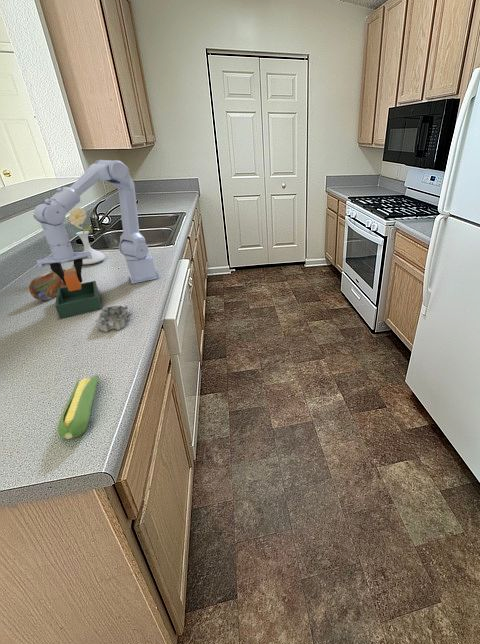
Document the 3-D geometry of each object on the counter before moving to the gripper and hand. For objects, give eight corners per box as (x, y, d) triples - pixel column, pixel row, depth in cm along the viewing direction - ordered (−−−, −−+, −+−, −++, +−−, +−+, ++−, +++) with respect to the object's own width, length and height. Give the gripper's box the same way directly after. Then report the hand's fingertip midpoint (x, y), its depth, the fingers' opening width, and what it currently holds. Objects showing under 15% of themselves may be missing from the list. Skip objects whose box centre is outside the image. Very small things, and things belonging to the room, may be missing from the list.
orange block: (81, 281, 114) (76, 268, 112) (81, 289, 109) (76, 275, 106) (69, 284, 113) (64, 270, 110) (68, 291, 107) (63, 277, 105)
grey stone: (124, 329, 99) (121, 317, 97) (96, 333, 97) (92, 321, 95) (131, 312, 108) (128, 301, 106) (106, 315, 106) (102, 304, 104)
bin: (99, 291, 122) (95, 280, 120) (101, 308, 110) (97, 296, 108) (61, 299, 117) (57, 288, 115) (60, 318, 105) (55, 306, 103)
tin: (40, 304, 114) (31, 282, 110) (33, 303, 115) (23, 281, 111) (75, 286, 127) (68, 265, 123) (68, 285, 128) (60, 265, 124)
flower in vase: (72, 263, 148) (52, 207, 137) (97, 256, 157) (80, 202, 146) (88, 269, 142) (68, 210, 131) (113, 261, 151) (97, 205, 139)
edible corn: (57, 449, 62) (48, 432, 60) (81, 381, 78) (75, 365, 76) (88, 441, 63) (80, 424, 61) (105, 375, 80) (100, 360, 78)
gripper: (29, 251, 98) (46, 292, 104) (86, 242, 104) (99, 281, 110) (32, 244, 103) (48, 284, 109) (85, 237, 109) (98, 274, 116)
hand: (73, 282), depth 110 cm, fingers closed on orange block, 3 cm apart
